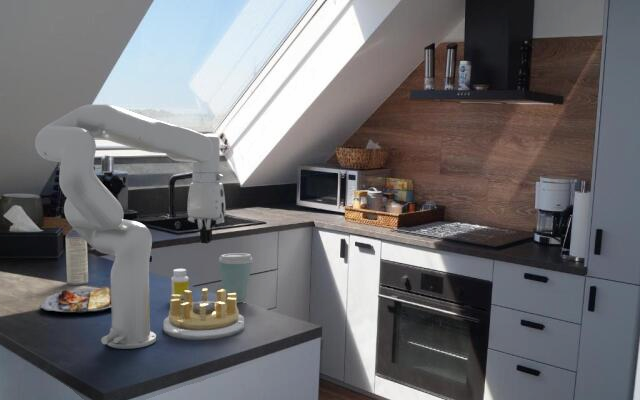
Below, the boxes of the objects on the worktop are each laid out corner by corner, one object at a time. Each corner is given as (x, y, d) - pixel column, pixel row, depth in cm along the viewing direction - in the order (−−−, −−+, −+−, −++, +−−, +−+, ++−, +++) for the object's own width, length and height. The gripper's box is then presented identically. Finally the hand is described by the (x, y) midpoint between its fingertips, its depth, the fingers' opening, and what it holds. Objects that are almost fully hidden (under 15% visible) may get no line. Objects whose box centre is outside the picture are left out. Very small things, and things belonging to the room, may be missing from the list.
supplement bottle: (192, 300, 226) (192, 269, 224) (178, 303, 222) (177, 272, 220) (182, 297, 229) (181, 267, 228) (167, 300, 225) (167, 269, 224)
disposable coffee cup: (212, 299, 227) (212, 252, 225) (242, 294, 234) (242, 248, 232) (229, 306, 219) (228, 258, 217) (259, 301, 225) (259, 254, 223)
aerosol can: (87, 280, 250) (85, 223, 248) (88, 284, 244) (86, 226, 241) (67, 281, 248) (64, 224, 245) (67, 286, 242) (65, 227, 239)
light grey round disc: (219, 344, 184) (219, 335, 184) (147, 333, 192) (147, 325, 192) (257, 320, 205) (257, 313, 204) (190, 312, 213) (190, 305, 212)
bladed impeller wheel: (226, 332, 187) (225, 308, 186) (157, 327, 191) (157, 303, 190) (247, 312, 206) (247, 290, 205) (184, 307, 209) (184, 286, 208)
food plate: (50, 295, 229) (50, 285, 229) (125, 293, 234) (125, 282, 233) (36, 320, 205) (36, 308, 204) (121, 317, 210) (120, 305, 209)
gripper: (235, 178, 204) (235, 242, 206) (187, 176, 208) (187, 238, 210) (225, 180, 197) (225, 246, 199) (175, 178, 200) (176, 243, 203)
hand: (206, 242), depth 204 cm, fingers closed
